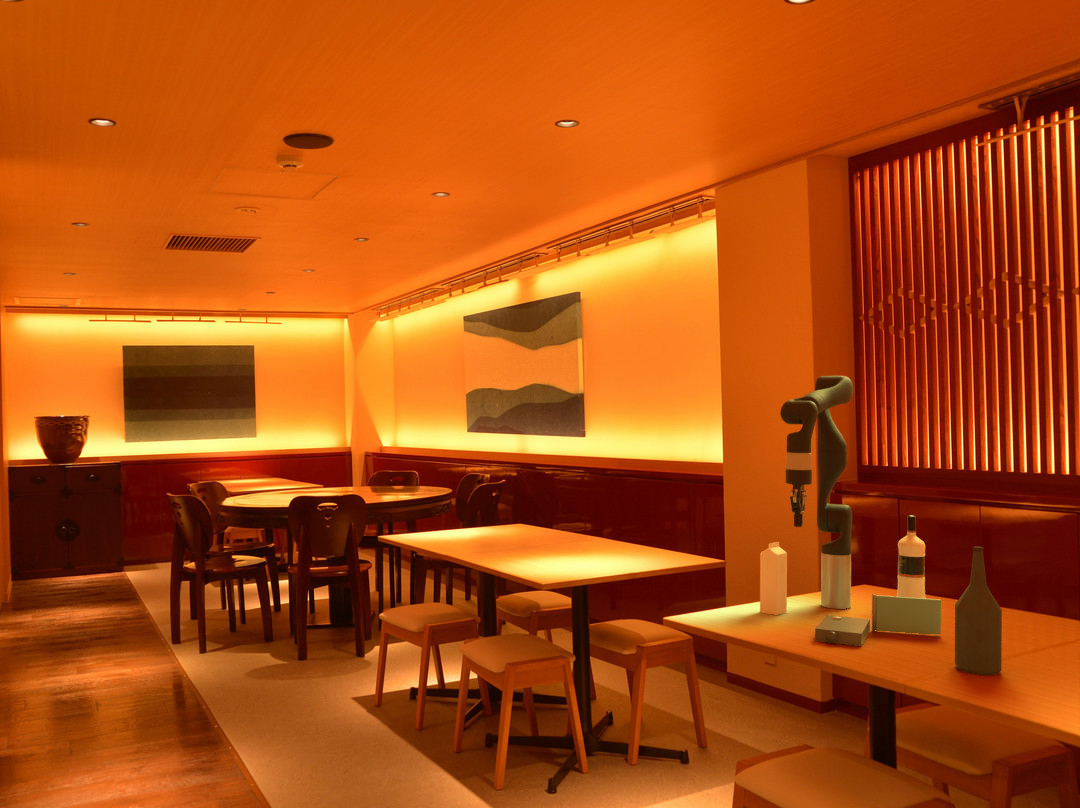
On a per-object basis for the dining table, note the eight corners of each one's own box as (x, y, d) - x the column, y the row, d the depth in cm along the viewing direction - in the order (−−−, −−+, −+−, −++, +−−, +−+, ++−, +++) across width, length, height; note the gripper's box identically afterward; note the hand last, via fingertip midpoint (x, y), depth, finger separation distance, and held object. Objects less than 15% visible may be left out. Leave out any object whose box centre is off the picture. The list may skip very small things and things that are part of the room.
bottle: (1004, 669, 219) (1004, 546, 219) (998, 678, 211) (999, 550, 211) (958, 662, 225) (958, 542, 225) (951, 671, 216) (951, 546, 217)
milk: (786, 613, 281) (787, 542, 281) (776, 615, 277) (777, 544, 277) (769, 609, 285) (771, 540, 286) (759, 612, 281) (760, 542, 282)
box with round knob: (826, 626, 262) (826, 613, 262) (870, 631, 257) (870, 617, 257) (814, 642, 243) (814, 628, 243) (860, 648, 238) (860, 633, 238)
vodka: (923, 611, 285) (923, 517, 286) (892, 607, 291) (893, 515, 291) (929, 607, 293) (929, 515, 294) (899, 603, 298) (900, 513, 299)
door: (871, 631, 257) (872, 594, 257) (871, 630, 258) (871, 594, 258) (940, 636, 251) (941, 599, 252) (940, 635, 253) (940, 598, 253)
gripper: (807, 469, 257) (807, 529, 257) (815, 467, 269) (815, 525, 269) (781, 468, 261) (780, 528, 260) (790, 466, 272) (789, 523, 272)
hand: (798, 526), depth 265 cm, fingers closed
